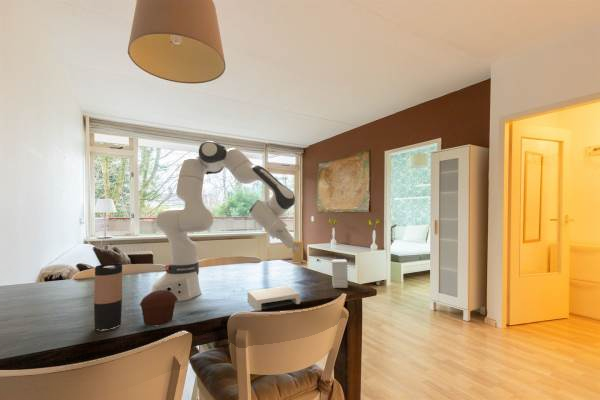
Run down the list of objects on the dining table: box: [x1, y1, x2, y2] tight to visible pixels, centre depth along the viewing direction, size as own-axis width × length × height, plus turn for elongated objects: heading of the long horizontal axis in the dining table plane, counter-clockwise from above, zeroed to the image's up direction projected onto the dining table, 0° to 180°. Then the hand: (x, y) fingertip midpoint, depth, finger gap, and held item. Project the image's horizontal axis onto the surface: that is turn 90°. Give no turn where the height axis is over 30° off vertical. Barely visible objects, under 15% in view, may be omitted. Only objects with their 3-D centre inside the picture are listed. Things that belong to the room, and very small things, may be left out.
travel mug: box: [93, 262, 123, 330], centre depth 93 cm, size 8×8×20 cm
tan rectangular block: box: [291, 240, 304, 263], centre depth 130 cm, size 5×5×9 cm
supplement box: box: [331, 258, 349, 289], centre depth 140 cm, size 7×7×13 cm
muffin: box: [139, 290, 178, 326], centre depth 98 cm, size 12×11×10 cm
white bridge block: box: [247, 285, 301, 312], centre depth 116 cm, size 18×13×4 cm
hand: (298, 250), depth 130 cm, fingers closed on tan rectangular block, 5 cm apart
